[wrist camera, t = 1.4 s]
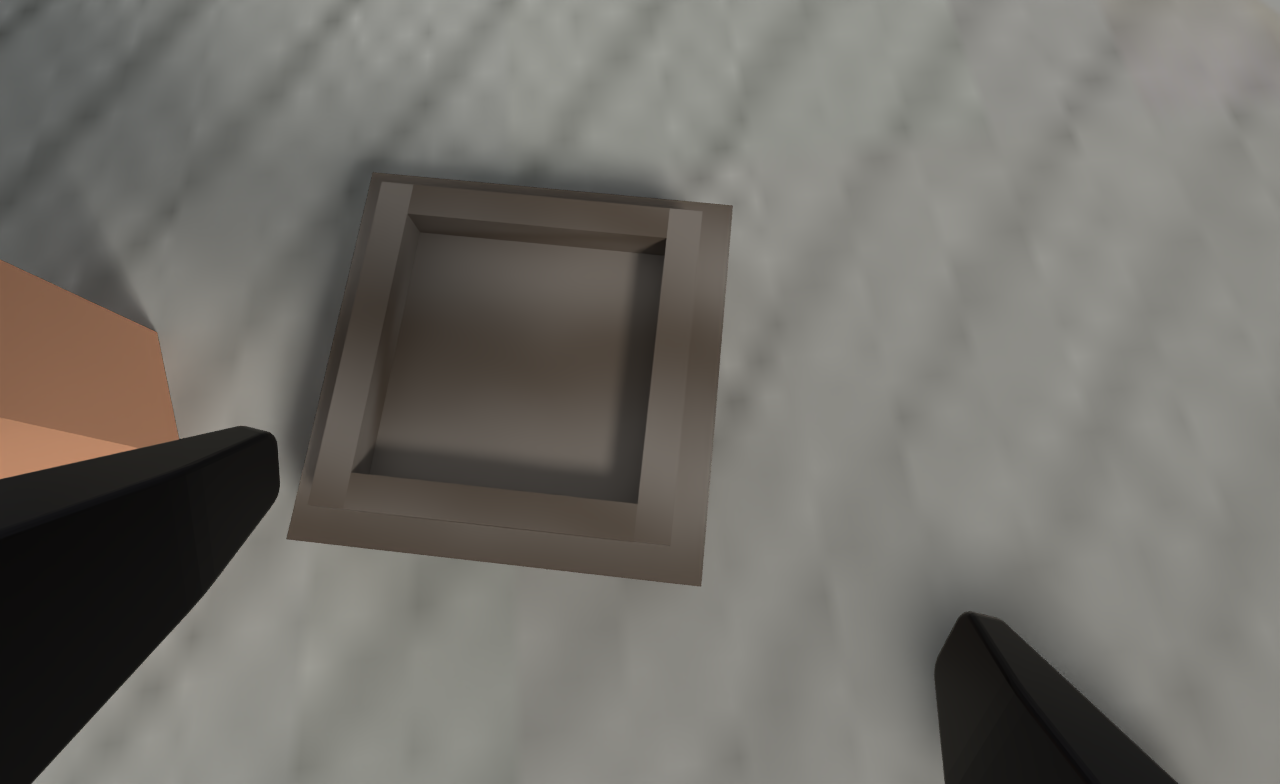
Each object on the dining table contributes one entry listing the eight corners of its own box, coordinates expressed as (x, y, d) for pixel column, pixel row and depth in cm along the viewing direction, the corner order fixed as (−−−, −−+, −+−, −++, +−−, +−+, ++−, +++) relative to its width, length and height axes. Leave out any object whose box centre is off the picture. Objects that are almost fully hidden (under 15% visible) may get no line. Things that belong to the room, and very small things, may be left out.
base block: (692, 582, 22) (704, 588, 17) (340, 542, 22) (263, 537, 18) (721, 253, 25) (737, 185, 20) (409, 224, 25) (357, 150, 21)
